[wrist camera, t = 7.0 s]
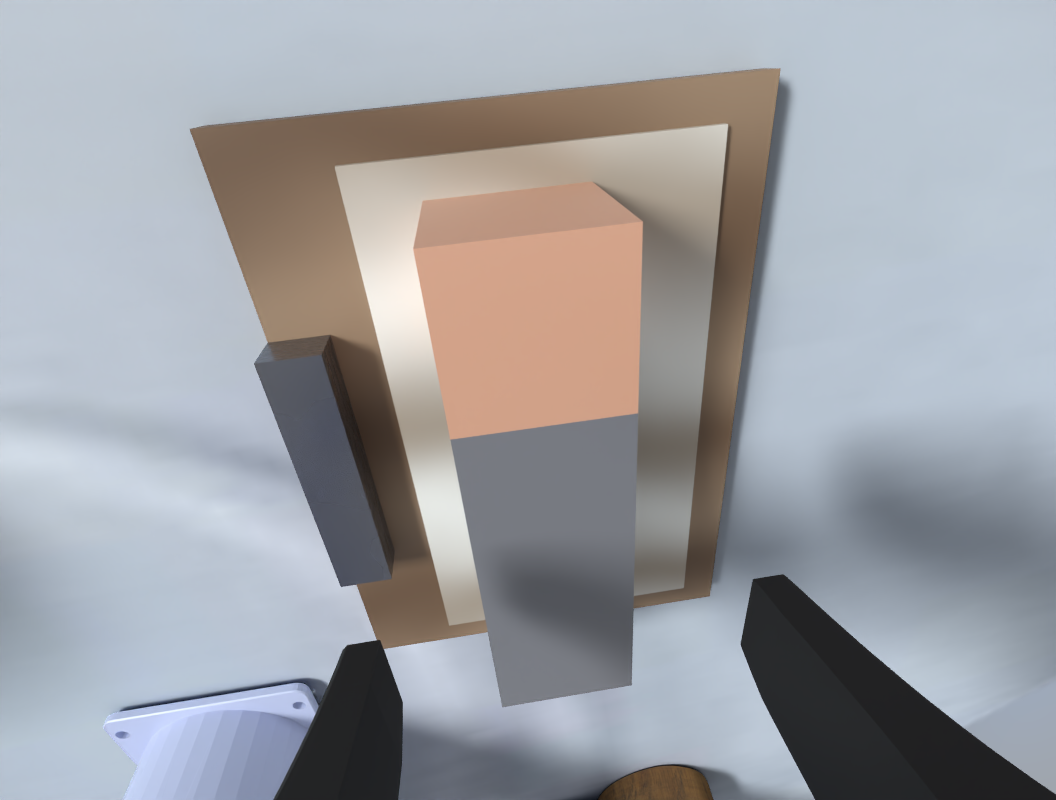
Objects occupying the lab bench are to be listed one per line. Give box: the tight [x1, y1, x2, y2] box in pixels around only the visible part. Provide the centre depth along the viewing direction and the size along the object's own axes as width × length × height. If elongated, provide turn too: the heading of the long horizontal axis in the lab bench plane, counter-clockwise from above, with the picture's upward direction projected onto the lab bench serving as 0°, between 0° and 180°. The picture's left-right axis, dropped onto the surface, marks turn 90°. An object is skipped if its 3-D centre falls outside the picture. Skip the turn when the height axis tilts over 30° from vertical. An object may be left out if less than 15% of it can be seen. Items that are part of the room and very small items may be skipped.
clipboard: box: [190, 69, 780, 649], centre depth 17 cm, size 18×13×2 cm
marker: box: [413, 182, 643, 707], centre depth 15 cm, size 15×4×4 cm, turn 5°
